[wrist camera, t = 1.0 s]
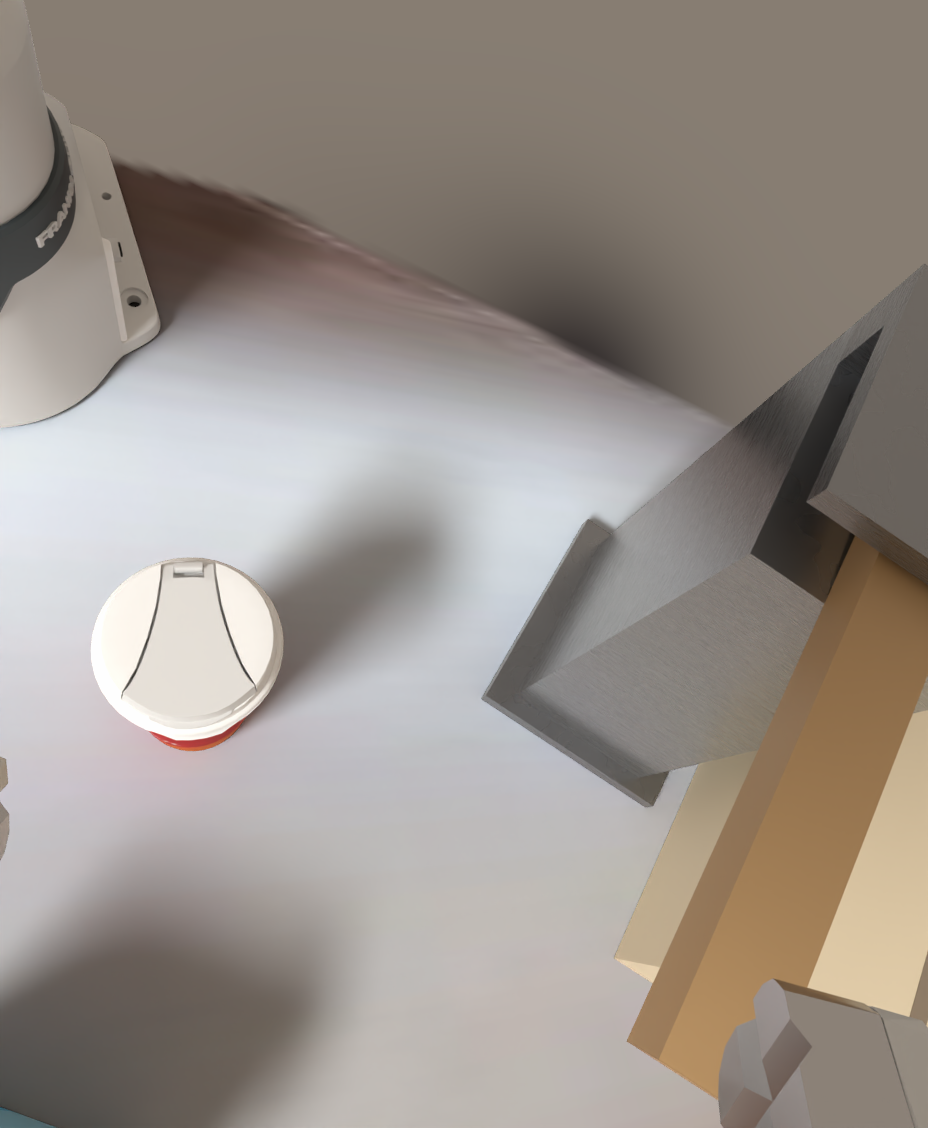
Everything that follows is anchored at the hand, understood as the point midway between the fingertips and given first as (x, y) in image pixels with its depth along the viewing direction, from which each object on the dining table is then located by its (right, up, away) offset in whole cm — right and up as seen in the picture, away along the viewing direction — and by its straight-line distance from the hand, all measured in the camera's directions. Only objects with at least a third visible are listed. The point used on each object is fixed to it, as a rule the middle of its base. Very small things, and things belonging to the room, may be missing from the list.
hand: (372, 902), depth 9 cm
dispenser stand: (+10, -3, +46) cm, 48 cm away
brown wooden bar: (+12, -2, +19) cm, 23 cm away
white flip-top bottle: (-14, -4, +39) cm, 42 cm away
